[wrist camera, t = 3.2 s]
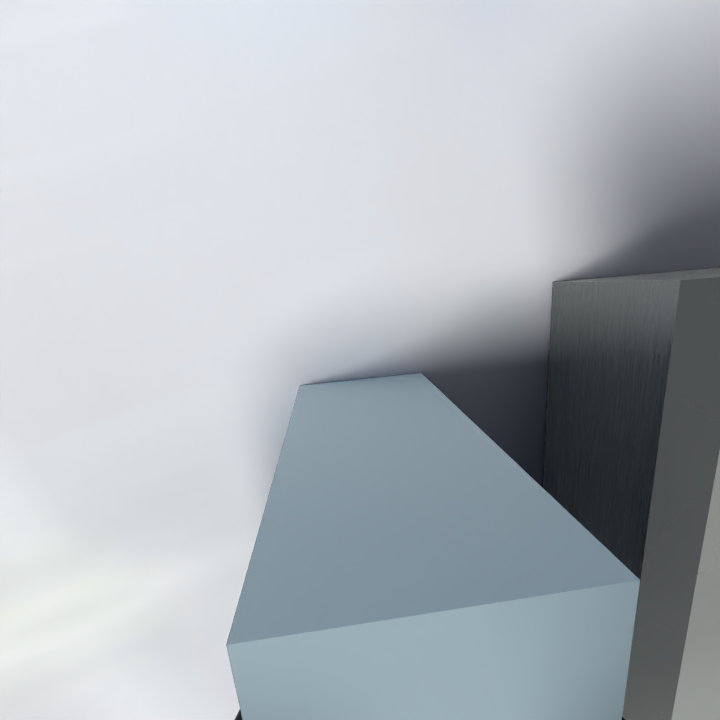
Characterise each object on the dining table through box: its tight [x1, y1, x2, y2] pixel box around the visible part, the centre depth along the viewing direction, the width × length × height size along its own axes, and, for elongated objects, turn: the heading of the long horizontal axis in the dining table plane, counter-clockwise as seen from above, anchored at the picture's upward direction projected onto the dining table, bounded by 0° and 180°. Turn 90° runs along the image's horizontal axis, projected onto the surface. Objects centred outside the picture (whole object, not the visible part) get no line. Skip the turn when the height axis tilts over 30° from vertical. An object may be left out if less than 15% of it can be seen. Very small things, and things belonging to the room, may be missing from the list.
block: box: [226, 373, 640, 720], centre depth 6 cm, size 10×3×6 cm, turn 5°
